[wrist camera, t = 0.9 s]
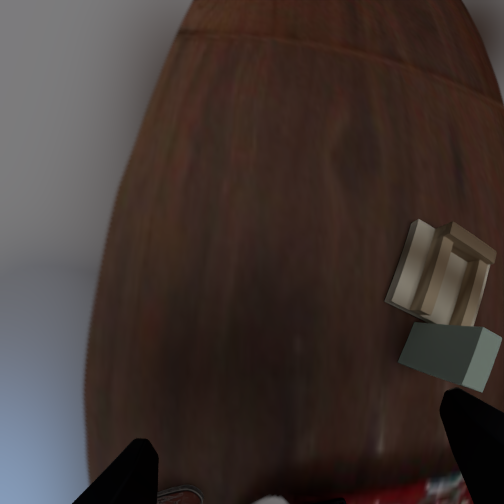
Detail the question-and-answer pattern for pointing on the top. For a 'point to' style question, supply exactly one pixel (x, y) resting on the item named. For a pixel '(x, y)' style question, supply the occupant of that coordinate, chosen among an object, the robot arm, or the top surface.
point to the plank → (452, 353)
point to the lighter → (180, 495)
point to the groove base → (441, 274)
